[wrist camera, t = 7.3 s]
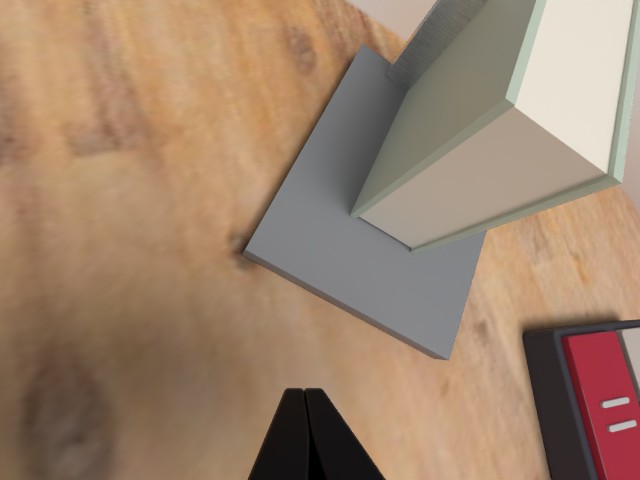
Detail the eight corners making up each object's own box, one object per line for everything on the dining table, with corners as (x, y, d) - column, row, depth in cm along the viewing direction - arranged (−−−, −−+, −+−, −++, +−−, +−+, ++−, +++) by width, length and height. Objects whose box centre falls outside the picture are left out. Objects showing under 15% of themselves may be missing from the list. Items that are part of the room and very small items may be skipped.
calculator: (669, 317, 26) (754, 558, 22) (608, 321, 30) (672, 527, 26) (563, 329, 23) (642, 619, 19) (509, 332, 27) (565, 572, 23)
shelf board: (433, 358, 23) (448, 360, 22) (241, 254, 21) (245, 249, 19) (496, 155, 29) (510, 147, 28) (354, 58, 27) (362, 43, 25)
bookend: (481, 144, 27) (588, 74, 19) (384, 77, 25) (460, -27, 18) (486, 130, 27) (592, 56, 20) (391, 63, 26) (467, -43, 18)
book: (415, 254, 23) (622, 182, 12) (349, 215, 22) (505, 97, 11) (460, 130, 26) (647, -13, 15) (406, 92, 26) (564, -87, 15)
